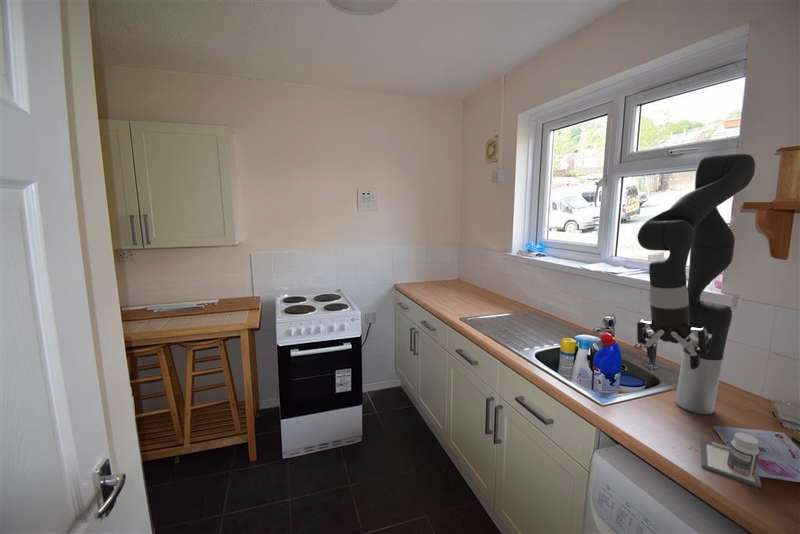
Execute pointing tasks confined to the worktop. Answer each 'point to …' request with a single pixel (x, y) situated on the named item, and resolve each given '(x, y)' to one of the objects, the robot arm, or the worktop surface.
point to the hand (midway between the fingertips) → (672, 363)
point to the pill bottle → (743, 455)
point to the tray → (723, 463)
